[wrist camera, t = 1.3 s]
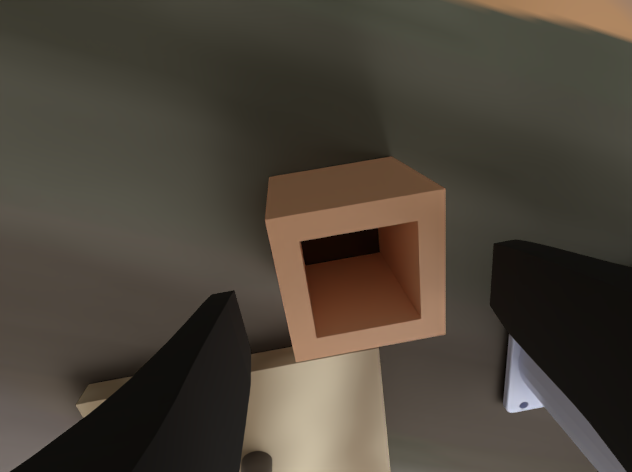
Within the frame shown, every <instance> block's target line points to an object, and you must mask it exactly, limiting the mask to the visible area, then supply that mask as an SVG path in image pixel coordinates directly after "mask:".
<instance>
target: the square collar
mask: <svg viewBox="0 0 632 472" xmlns="http://www.w3.org/2000/svg"><path fill="white" fill-rule="evenodd" d="M265 223H266V228H267V232H268V237H269V241H270V246H271V250H272V255H273V260H274V264H275V269H276V273H277V278H278V283H279V287H280V292H281V296H282V301H283V305H284V310H285V315H286V319H287V324H288V328H289V333H290V338H291V342H292V347H293V351H294V356H295V360H296V362H301V361H306V360H311V359H317V358H322V357H327V356H333V355H338V354H343V353H349V352H354V351H359V350H365V349H370V348H376V347H381V346H386V345H392V344H397V343H402V342H408V341H413V340H418V339H424V338H429V337H434V336H440V335H445V334H446V189H445V188H444V187H442V186H440V185H439V184H437V183H435V182H434V181H432V180H430V179H429V178H427V177H425V176H424V175H422V174H420V173H419V172H417V171H415V170H414V169H412V168H410V167H409V166H407V165H405V164H404V163H402V162H400V161H399V160H397V159H395V158H394V157H392V156H391V157H385V158H379V159H373V160H367V161H361V162H355V163H349V164H343V165H337V166H331V167H325V168H319V169H313V170H307V171H301V172H296V173H290V174H284V175H278V176H272V177H269V182H268V193H267V203H266V213H265ZM374 228H378V236H379V248H380V252H379V253H373V254H367V255H362V256H356V257H351V258H345V259H339V260H334V261H328V262H322V263H317V264H311V265H306V266H305V261H304V255H303V250H302V244H301V241H305V240H311V239H317V238H322V237H328V236H334V235H340V234H345V233H351V232H357V231H362V230H368V229H374Z"/></svg>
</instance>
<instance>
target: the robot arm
mask: <svg viewBox="0 0 632 472" xmlns="http://www.w3.org/2000/svg"><path fill="white" fill-rule="evenodd" d="M490 306H491V308H492V309H493V311H494V312H495V314H496V315H497V317H498V318H499V320H500V321H501V323H502V324H503V326H504V327H505V328H506V330H507V331H508V332H509V342H508V353H507V364H506V375H505V387H504V398H503V406H504V407H505V409H506V410H507V411H508V412H511V413H515V412H520V411H525V410H530V409H535V408H540V407H545V408H546V409H547V411H548V412H549V413H550V414H551V415H552V417H553V418H554V419H555V420H556V421H557V423H558V424H559V425H560V426H561V427H562V429H563V430H564V431H565V432H566V433H567V435H568V436H569V437H570V438H571V439H572V441H573V442H574V443H575V444H576V445H577V447H578V448H579V449H580V450H581V451H582V453H583V454H584V455H585V456H586V457H587V459H588V460H589V461H590V462H591V463H592V464H593V466H594V467H595V468H596V469H597V470H598V472H632V268H631V267H627V266H623V265H619V264H615V263H611V262H607V261H603V260H599V259H596V258H592V257H588V256H584V255H580V254H577V253H573V252H569V251H565V250H561V249H557V248H554V247H550V246H546V245H541V244H537V243H532V242H528V241H522V240H510V241H505V242H499V243H494V248H493V264H492V280H491V296H490ZM250 387H251V348H250V345H249V341H248V338H247V334H246V330H245V327H244V323H243V320H242V316H241V313H240V309H239V305H238V302H237V298H236V295H235V291H228V292H223V293H217V294H212V295H211V296H210V297H209V298H208V299H207V300H206V301H205V302H204V303H203V304H202V305H201V306H200V307H199V308H198V309H197V311H196V312H195V313H194V314H193V315H192V316H191V317H190V318H189V319H188V321H187V322H186V323H185V324H184V325H183V326H182V327H181V328H180V329H179V330H178V331H177V332H176V334H175V335H174V336H173V337H172V338H171V339H170V340H169V341H168V342H167V343H166V344H165V345H164V346H163V347H162V348H161V349H160V350H159V351H158V352H157V353H156V354H155V355H154V356H153V357H152V358H151V359H150V360H149V361H148V362H147V363H146V364H145V365H144V366H143V367H142V368H141V369H140V370H139V371H138V372H137V373H136V374H135V375H134V376H133V377H131V378H130V379H129V380H128V381H127V382H126V383H125V384H124V385H123V386H121V387H120V388H119V389H118V390H117V391H116V392H115V393H113V394H112V395H111V396H110V397H109V398H107V399H106V400H105V401H104V402H103V403H101V404H100V405H99V406H98V407H97V408H96V409H94V410H93V411H92V412H91V413H89V414H88V415H87V416H86V417H84V418H83V419H82V420H80V421H79V422H78V423H76V424H75V425H74V426H72V427H71V428H70V429H68V430H67V431H66V432H64V433H63V434H62V435H60V436H59V437H58V438H56V439H55V440H54V441H52V442H51V443H50V444H48V445H47V446H46V447H44V448H43V449H42V450H40V451H39V452H38V453H36V454H35V455H33V456H32V457H31V458H29V459H28V460H26V461H25V462H23V463H22V464H21V465H19V466H18V467H16V468H15V469H13V470H12V471H10V472H239V470H240V463H241V456H242V448H243V441H244V433H245V426H246V419H247V411H248V403H249V396H250Z"/></svg>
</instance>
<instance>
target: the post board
mask: <svg viewBox="0 0 632 472" xmlns="http://www.w3.org/2000/svg"><path fill="white" fill-rule="evenodd" d="M131 377H133V376H131ZM131 377H125V378H120V379H115V380H109V381H104V382H98V383H93V384H89V385H88V386H87V388H86V389H85V391H84V393H83V394H82V396H81V397H80V399H79V400H78V402H77V404H76V406H77V408H78V409H79V411H80V413H81V415H82V416H83V418H84V417H86V416H87V415H88V414H89V413H91V412H92V411H93V410H94V409H96V408H97V407H98V406H99V405H100V404H101V403H103V402H104V401H105V400H106V399H107V398H109V397H110V396H111V395H112V394H113V393H115V392H116V391H117V390H118V389H119V388H120V387H121V386H123V385H124V384H125V383H126V382H127V381H128V380H129V379H130V378H131ZM239 472H391V471H390V461H389V450H388V440H387V429H386V419H385V408H384V398H383V387H382V377H381V366H380V356H379V347H376V348H370V349H365V350H359V351H354V352H349V353H343V354H338V355H333V356H327V357H322V358H317V359H311V360H306V361H301V362H296V360H295V356H294V351H293V347H287V348H282V349H276V350H271V351H266V352H260V353H255V354H251V387H250V396H249V403H248V411H247V419H246V426H245V433H244V441H243V448H242V456H241V463H240V470H239Z"/></svg>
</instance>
